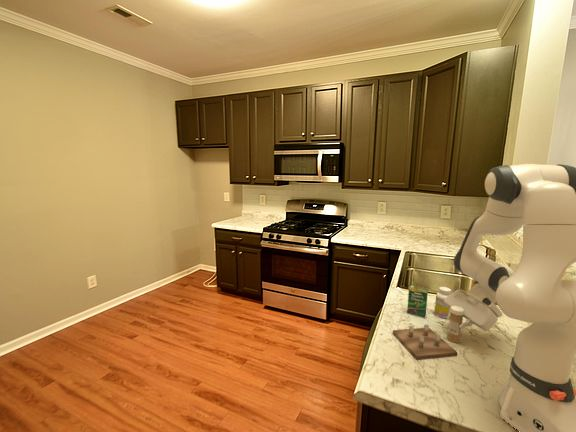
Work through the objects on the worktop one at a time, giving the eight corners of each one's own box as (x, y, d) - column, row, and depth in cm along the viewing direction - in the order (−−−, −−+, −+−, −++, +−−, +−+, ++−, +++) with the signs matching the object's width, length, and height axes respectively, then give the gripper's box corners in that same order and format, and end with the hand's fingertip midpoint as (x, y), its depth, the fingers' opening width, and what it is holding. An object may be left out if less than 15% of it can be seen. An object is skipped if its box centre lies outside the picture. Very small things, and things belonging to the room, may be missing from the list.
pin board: (456, 355, 101) (458, 341, 100) (416, 359, 98) (418, 345, 97) (428, 330, 116) (429, 318, 115) (392, 333, 114) (393, 321, 113)
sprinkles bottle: (462, 341, 109) (467, 309, 107) (455, 344, 108) (459, 311, 105) (451, 335, 114) (455, 304, 111) (444, 337, 112) (448, 306, 109)
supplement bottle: (440, 310, 134) (443, 284, 132) (453, 316, 128) (457, 290, 126) (430, 313, 131) (433, 287, 129) (444, 319, 125) (447, 293, 123)
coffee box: (406, 313, 130) (408, 286, 128) (407, 310, 133) (409, 284, 131) (425, 318, 126) (428, 291, 124) (425, 315, 129) (428, 288, 126)
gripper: (455, 283, 119) (431, 306, 119) (498, 306, 99) (470, 333, 99) (463, 292, 120) (440, 315, 120) (507, 317, 100) (479, 344, 100)
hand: (454, 323), depth 109 cm, fingers closed on sprinkles bottle, 4 cm apart
